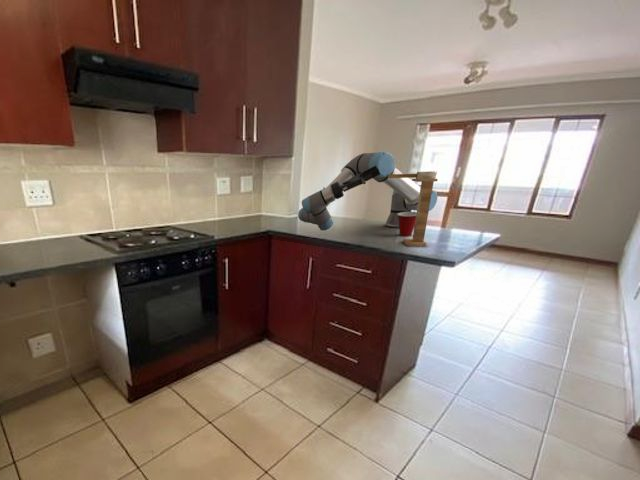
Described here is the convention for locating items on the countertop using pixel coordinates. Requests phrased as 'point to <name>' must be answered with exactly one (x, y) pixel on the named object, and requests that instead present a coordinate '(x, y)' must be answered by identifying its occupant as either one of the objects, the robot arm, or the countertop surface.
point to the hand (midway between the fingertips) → (378, 169)
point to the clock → (416, 175)
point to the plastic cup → (406, 223)
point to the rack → (421, 213)
